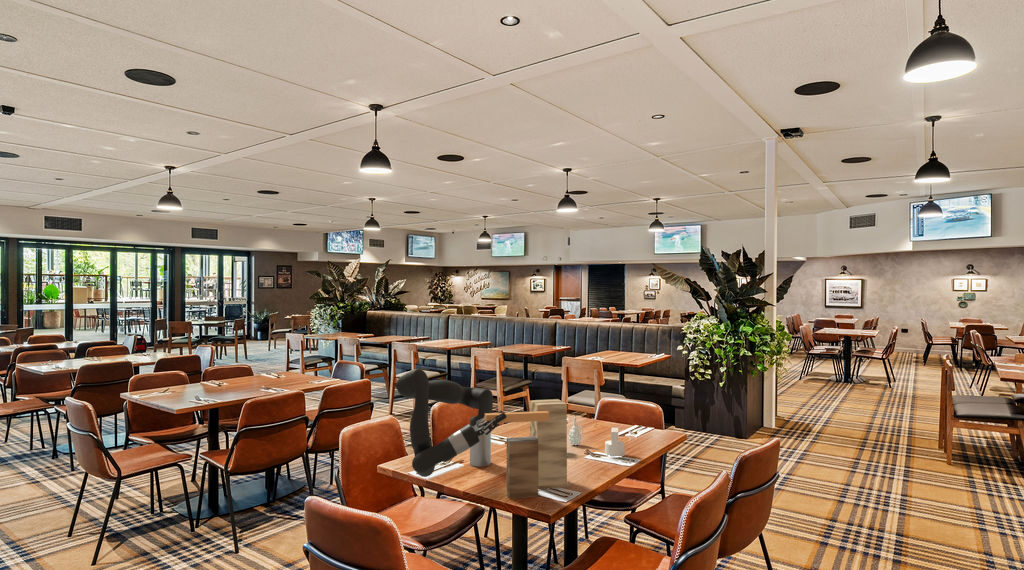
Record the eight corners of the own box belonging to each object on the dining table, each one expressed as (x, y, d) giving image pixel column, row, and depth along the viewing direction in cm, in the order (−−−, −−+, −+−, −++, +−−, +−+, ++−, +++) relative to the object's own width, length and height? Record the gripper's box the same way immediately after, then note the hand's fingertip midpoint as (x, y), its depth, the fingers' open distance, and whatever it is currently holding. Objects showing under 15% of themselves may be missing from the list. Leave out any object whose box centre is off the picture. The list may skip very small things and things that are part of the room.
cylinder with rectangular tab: (624, 459, 253) (624, 432, 253) (604, 457, 254) (604, 431, 255) (624, 453, 261) (624, 428, 262) (605, 452, 263) (605, 427, 263)
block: (506, 494, 207) (506, 438, 207) (534, 492, 209) (534, 436, 210) (509, 499, 202) (509, 441, 203) (538, 496, 205) (538, 439, 205)
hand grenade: (567, 446, 274) (567, 417, 274) (570, 443, 280) (570, 415, 280) (582, 447, 271) (582, 419, 271) (585, 444, 277) (585, 416, 277)
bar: (484, 421, 204) (484, 413, 204) (546, 419, 210) (546, 411, 210) (486, 423, 201) (486, 415, 202) (549, 420, 207) (549, 412, 207)
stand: (527, 480, 223) (526, 400, 224) (560, 477, 227) (559, 398, 228) (535, 490, 212) (535, 405, 212) (570, 486, 215) (570, 403, 216)
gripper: (461, 435, 194) (503, 408, 198) (455, 426, 207) (495, 401, 211) (472, 453, 194) (513, 426, 198) (465, 443, 208) (504, 418, 212)
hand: (503, 413), depth 205 cm, fingers closed on bar, 3 cm apart
